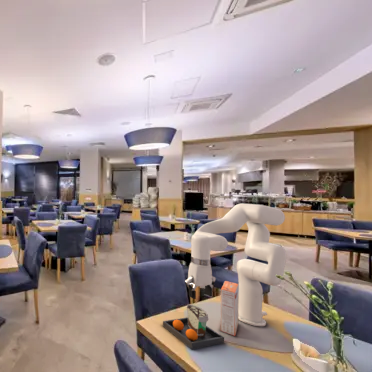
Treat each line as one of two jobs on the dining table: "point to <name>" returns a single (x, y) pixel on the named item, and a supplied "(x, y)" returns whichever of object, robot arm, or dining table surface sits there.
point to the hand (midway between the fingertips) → (200, 296)
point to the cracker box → (229, 307)
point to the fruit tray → (207, 340)
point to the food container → (197, 319)
